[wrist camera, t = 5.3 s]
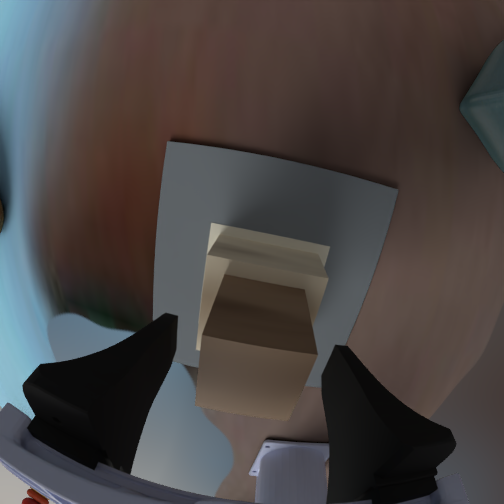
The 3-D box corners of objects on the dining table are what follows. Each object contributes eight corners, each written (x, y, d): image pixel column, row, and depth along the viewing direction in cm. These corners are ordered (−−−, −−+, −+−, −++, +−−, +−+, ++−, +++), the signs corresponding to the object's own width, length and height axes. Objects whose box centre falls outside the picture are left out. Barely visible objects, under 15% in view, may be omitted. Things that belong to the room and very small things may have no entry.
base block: (293, 334, 19) (296, 368, 16) (207, 317, 19) (196, 349, 16) (318, 254, 17) (328, 278, 14) (219, 234, 17) (207, 254, 14)
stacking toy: (41, 448, 36) (11, 502, 19) (45, 442, 34) (10, 503, 16) (70, 468, 38) (43, 524, 20) (76, 465, 35) (46, 527, 18)
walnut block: (285, 350, 15) (288, 420, 10) (214, 338, 15) (195, 405, 10) (304, 289, 14) (318, 354, 9) (224, 274, 14) (201, 334, 9)
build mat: (324, 385, 21) (324, 388, 21) (154, 353, 21) (153, 356, 21) (396, 189, 15) (398, 190, 15) (169, 141, 15) (167, 141, 15)
